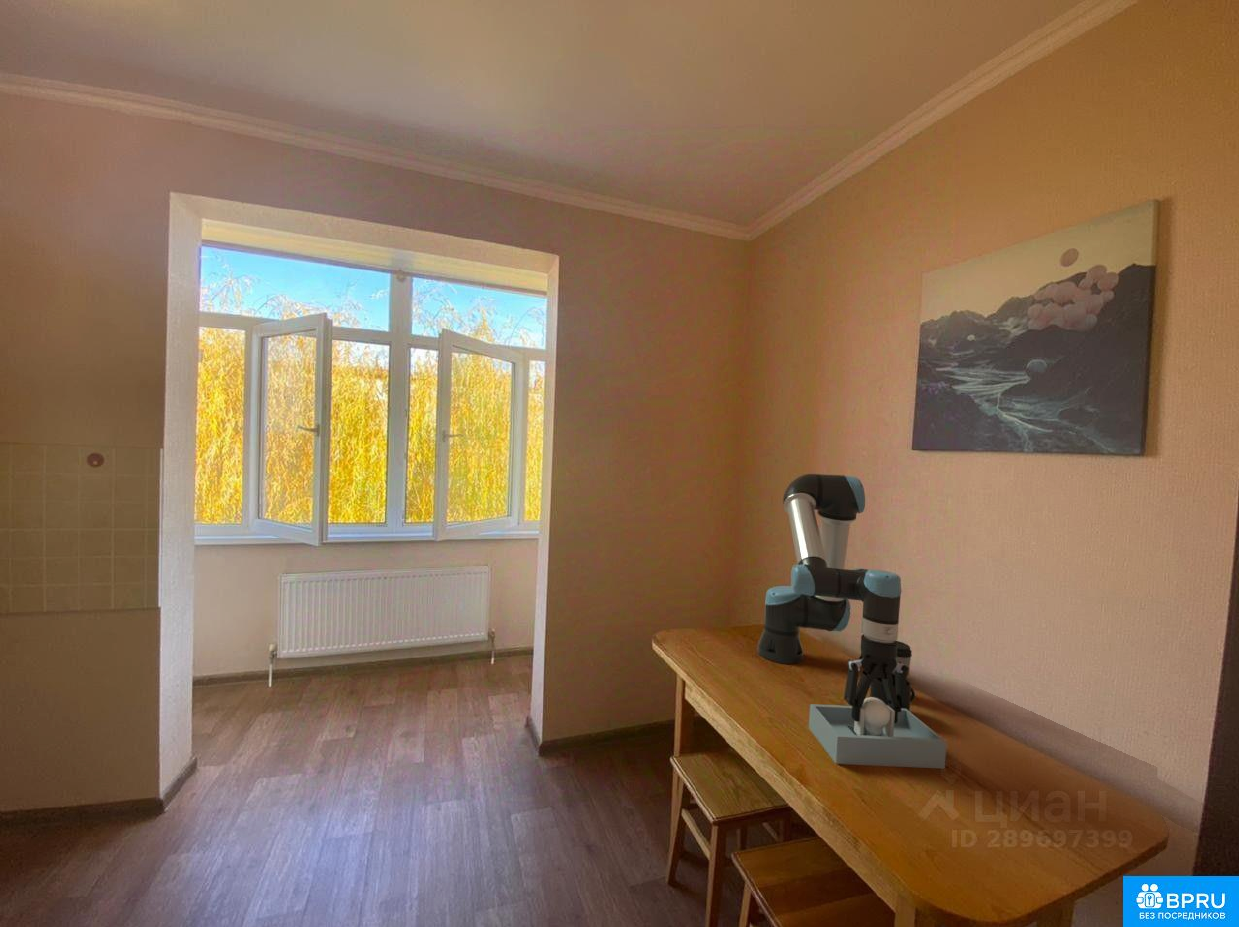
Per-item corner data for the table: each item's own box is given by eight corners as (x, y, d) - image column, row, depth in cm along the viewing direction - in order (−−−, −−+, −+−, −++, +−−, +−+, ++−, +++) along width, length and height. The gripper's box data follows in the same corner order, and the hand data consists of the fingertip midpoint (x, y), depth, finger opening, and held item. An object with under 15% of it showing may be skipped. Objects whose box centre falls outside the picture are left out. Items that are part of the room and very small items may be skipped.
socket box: (808, 727, 118) (810, 704, 118) (904, 732, 118) (906, 708, 118) (835, 763, 104) (837, 736, 104) (944, 768, 104) (946, 741, 104)
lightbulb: (851, 739, 113) (854, 694, 112) (870, 735, 115) (872, 690, 115) (875, 755, 107) (878, 707, 107) (894, 750, 109) (897, 703, 109)
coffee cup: (903, 705, 133) (906, 652, 133) (871, 693, 139) (875, 642, 139) (913, 696, 138) (916, 645, 138) (882, 685, 144) (885, 636, 144)
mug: (926, 721, 124) (928, 687, 124) (884, 721, 123) (886, 687, 123) (901, 703, 134) (903, 671, 134) (861, 703, 132) (863, 671, 132)
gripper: (846, 641, 107) (840, 742, 107) (930, 645, 107) (924, 746, 107) (831, 629, 114) (825, 724, 114) (909, 633, 115) (903, 727, 115)
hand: (873, 734), depth 111 cm, fingers open, 6 cm apart
